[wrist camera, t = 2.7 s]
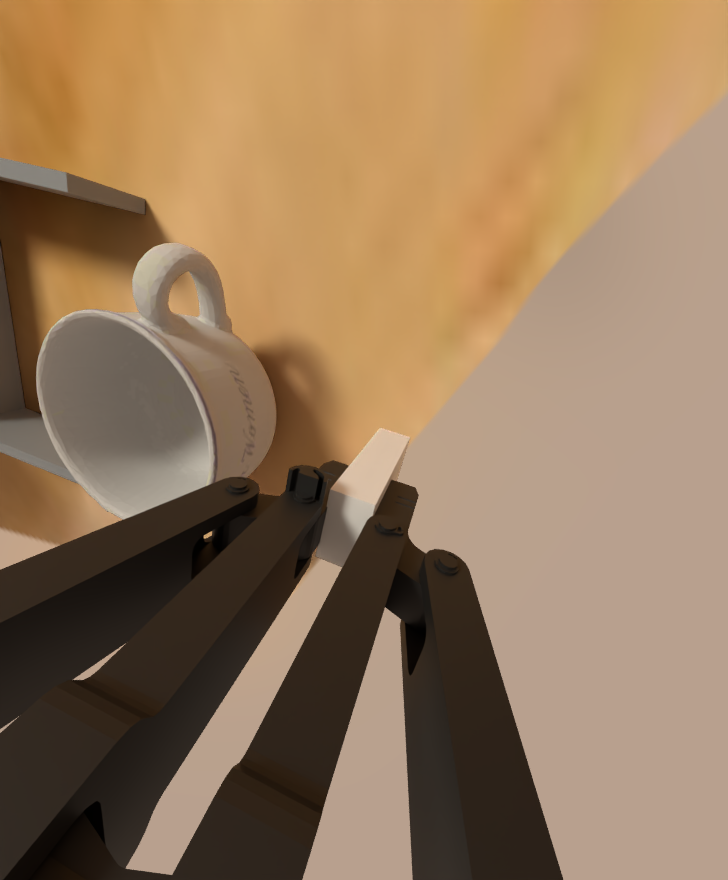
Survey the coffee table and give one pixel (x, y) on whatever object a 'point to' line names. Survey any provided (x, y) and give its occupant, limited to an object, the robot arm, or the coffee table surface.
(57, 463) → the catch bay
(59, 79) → the coffee table surface
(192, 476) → the teacup
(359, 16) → the coffee table surface
